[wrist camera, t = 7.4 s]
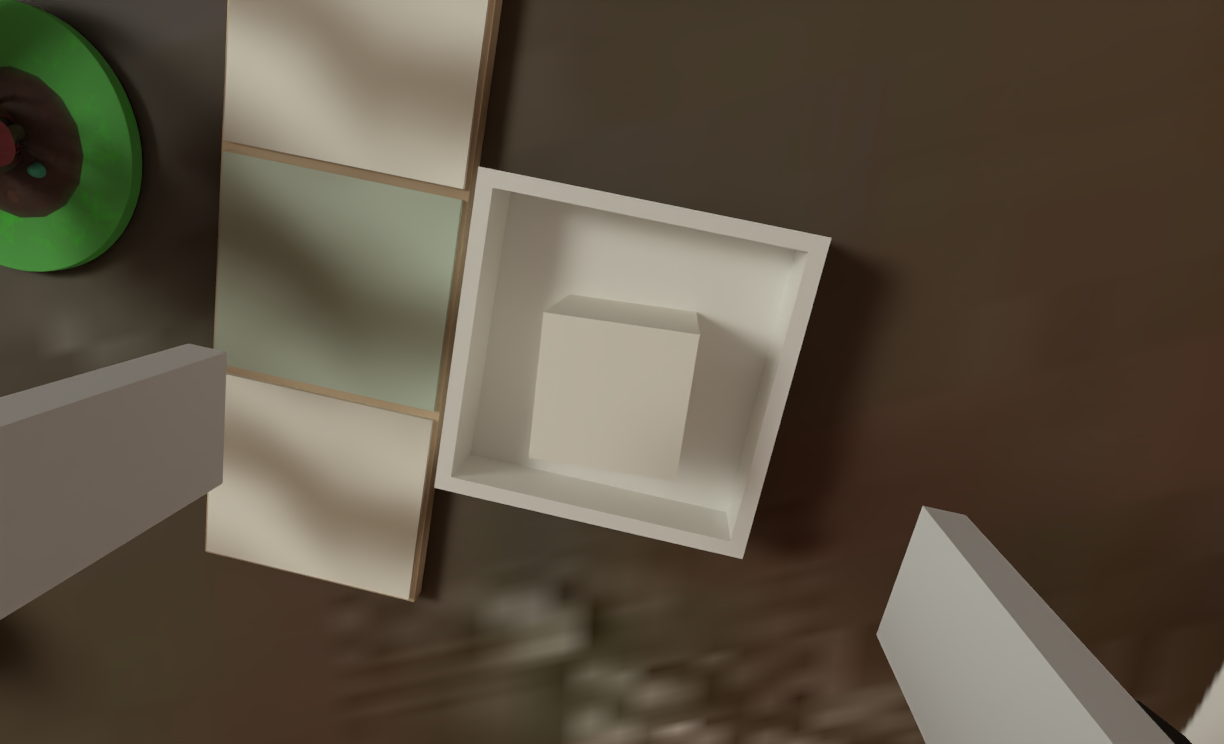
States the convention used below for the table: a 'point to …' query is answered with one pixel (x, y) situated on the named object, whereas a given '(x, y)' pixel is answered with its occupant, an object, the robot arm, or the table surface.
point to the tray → (636, 273)
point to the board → (343, 275)
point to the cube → (614, 385)
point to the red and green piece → (61, 145)
